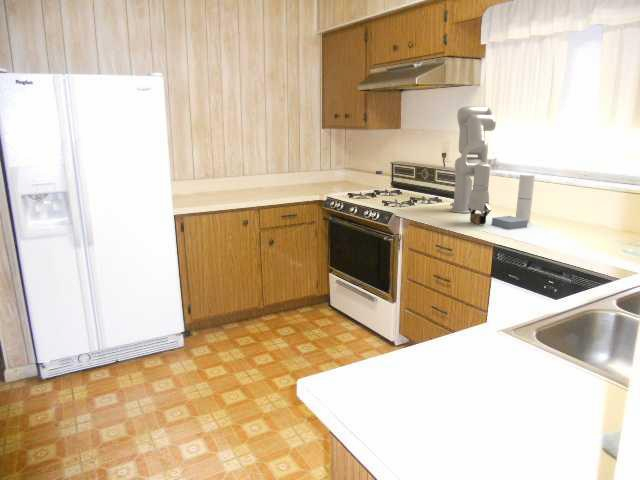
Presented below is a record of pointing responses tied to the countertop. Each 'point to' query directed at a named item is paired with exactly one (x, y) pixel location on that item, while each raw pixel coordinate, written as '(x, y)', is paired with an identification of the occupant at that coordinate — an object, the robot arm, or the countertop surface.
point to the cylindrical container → (525, 196)
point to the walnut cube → (476, 218)
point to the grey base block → (509, 222)
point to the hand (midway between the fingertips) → (477, 221)
